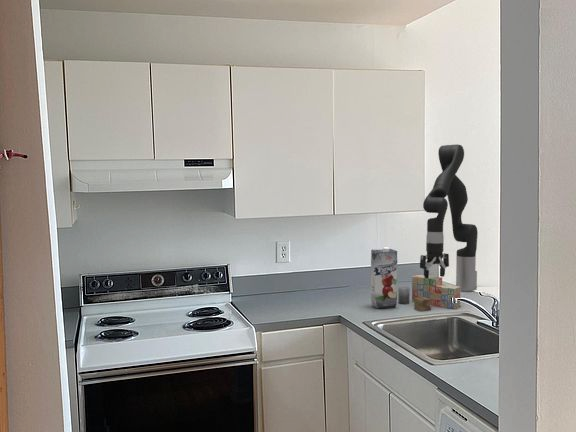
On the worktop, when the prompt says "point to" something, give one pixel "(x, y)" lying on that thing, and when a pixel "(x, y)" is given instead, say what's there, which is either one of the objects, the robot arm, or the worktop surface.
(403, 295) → the charcoal cylinder
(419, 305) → the walnut cube
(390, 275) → the juice carton
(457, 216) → the robot arm
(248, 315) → the worktop surface
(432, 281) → the stack of blocks
